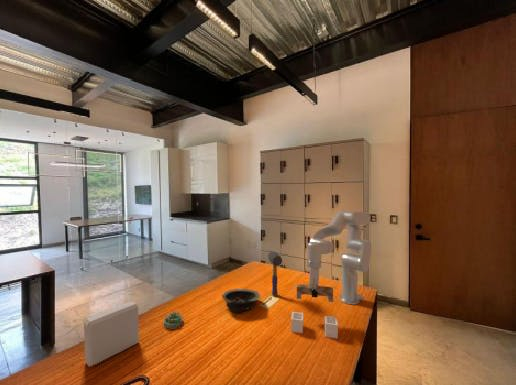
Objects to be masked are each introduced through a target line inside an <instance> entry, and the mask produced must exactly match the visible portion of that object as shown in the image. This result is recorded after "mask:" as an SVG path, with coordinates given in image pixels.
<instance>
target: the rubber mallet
mask: <svg viewBox="0 0 516 385" xmlns="http://www.w3.org/2000/svg"><path fill="white" fill-rule="evenodd" d="M267 258H268V261H270V263H271V264H272V276H271V277H272V278H271V280H272V281H271V283H272V288H271V290H272V291H271V294H272V296H273V297H277V295H278V275H277V274H278V273H277V272H278V270H277V269H278V268H277V267H278V266H279V267H280V265H281V264H283V259H282V257H281V256H280V254H279V253H277V252H276V251H274V250H273V251H272V250H271V251H269V253H268V255H267Z"/></svg>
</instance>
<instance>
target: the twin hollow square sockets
mask: <svg viewBox="0 0 516 385" xmlns="http://www.w3.org/2000/svg"><path fill="white" fill-rule="evenodd" d="M337 318H338V317H337V316H329V315H324V333H325V334H324V335H325V337H326V338H332V339H336V340H337V339H338V338H339V336H338V335H339V324H338V319H337ZM303 331H304V313H303V312H295V311H292V312H291V317H290V332H292V333H296V334H303Z"/></svg>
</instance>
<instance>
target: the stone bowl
mask: <svg viewBox="0 0 516 385" xmlns="http://www.w3.org/2000/svg"><path fill="white" fill-rule="evenodd" d="M221 297H222V298H223V300H224V301H225V302H226V306H227V308H228V311H230V312H232V313H242V312H243V311H246V310H252V309H254V306H255V303H256V301H257V300H259V299H260V298H261V294H260V293H259V292H258V290H254V289H249V288H235V289H229V290H227V291H225V292H224V293H223V294H221Z"/></svg>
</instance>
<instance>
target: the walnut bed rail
mask: <svg viewBox="0 0 516 385" xmlns="http://www.w3.org/2000/svg"><path fill="white" fill-rule="evenodd" d="M313 287H314V286H313ZM317 290H318V297H327V301H328V302H329V303H334V288H333V286H326V285H325V286H323V285H318V286H317ZM302 295H307V296H308V295H309V296H310V295H311V296H312V285H311V286H310V284H301V283H296V299H297V300H302Z"/></svg>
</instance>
